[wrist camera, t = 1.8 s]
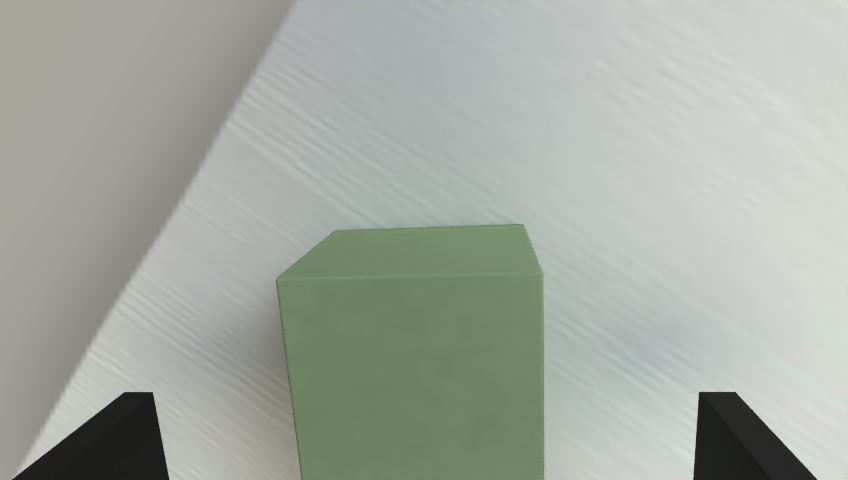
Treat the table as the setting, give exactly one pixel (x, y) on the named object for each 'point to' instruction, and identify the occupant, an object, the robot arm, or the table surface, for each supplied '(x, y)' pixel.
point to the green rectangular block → (417, 354)
